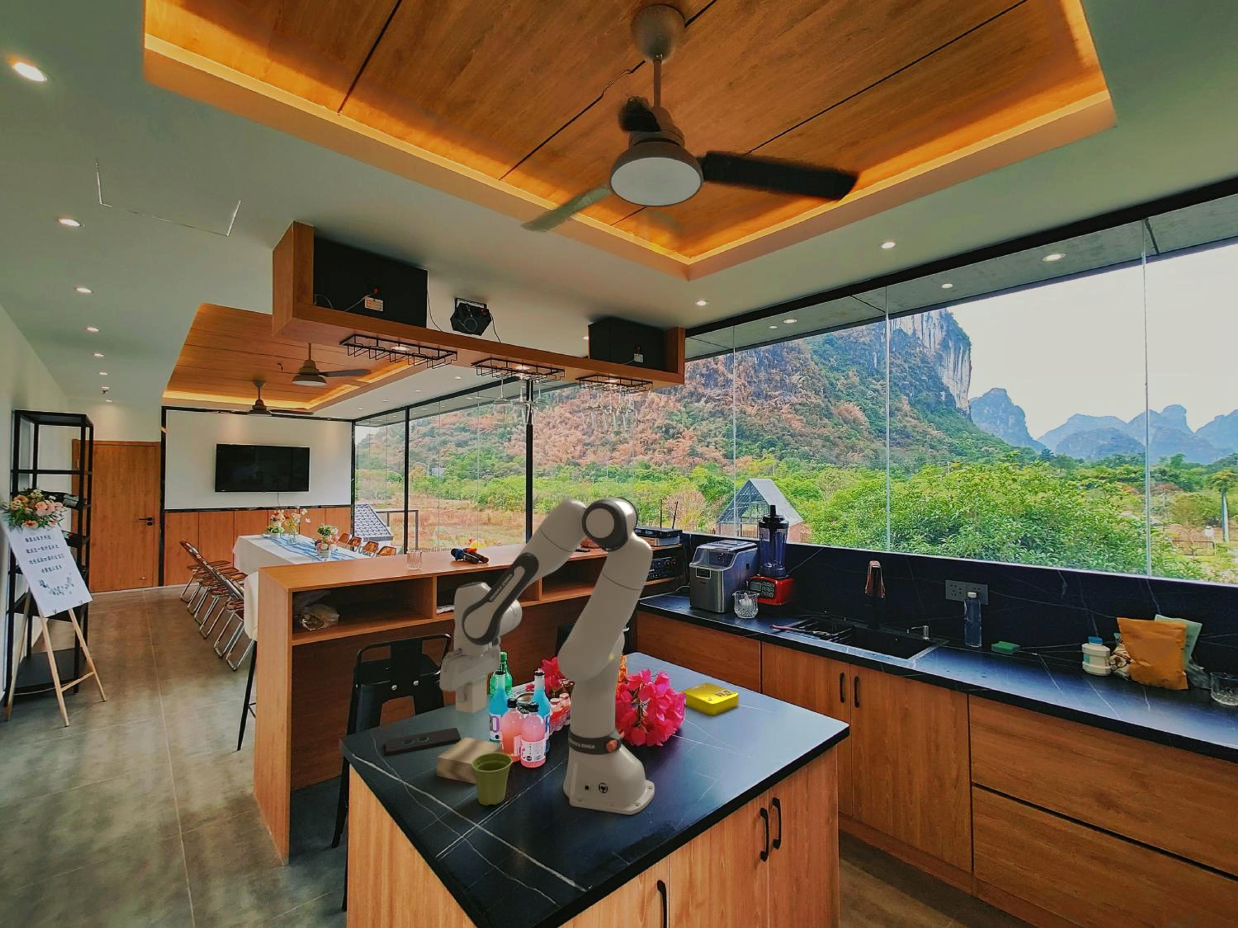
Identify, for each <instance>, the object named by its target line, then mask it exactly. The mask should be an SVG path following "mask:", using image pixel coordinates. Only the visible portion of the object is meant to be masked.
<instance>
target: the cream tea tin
mask: <svg viewBox="0 0 1238 928" xmlns="http://www.w3.org/2000/svg"><path fill="white" fill-rule="evenodd" d="M488 676H489V674H488V675H485V674H484V675H482V676H480V677H478V678H475V679H473V680H471V681H469V683H468V684H466V685H464V690H463V692H464V694H466V695H467V701H466V702H464V703H459V702H458V696H457V694H456V693H455V711H458V712H464V713H467V714H468V713H469V714H475V713H476V712H478V711H480V710H482V709H484V708H485V707H488V706H487V705H488V704H487V703H488V702H487V701H488V699H487V697H488V694H487V693H488V692H487V691H488V690H487V687H488V685H487V681H488V678H489V677H488Z"/></svg>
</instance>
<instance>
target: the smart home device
mask: <svg viewBox="0 0 1238 928" xmlns="http://www.w3.org/2000/svg"><path fill="white" fill-rule="evenodd" d="M461 740H462V737H461V734H460V732H459V729H458V728H457V727H452V728H451V727H450V728H446V729H440V730H439V729H438V730H434V731H429V732H423V733H417V734H411V735H406V736H405V735H404V736H401V737H395V738H389V739H386V740H384V743H385V744H384V745H385V754H386V757H387V756H395V755H399V754H405V753H409V752H414V751H415V752H416V751H422V750H427V749H433V748H436V747H441V746H442V747H443V746H447V745H454V744H456V743H458V742H459V741H461Z"/></svg>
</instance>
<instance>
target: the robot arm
mask: <svg viewBox="0 0 1238 928" xmlns="http://www.w3.org/2000/svg"><path fill="white" fill-rule="evenodd" d="M638 522H639V513H638V510H637V507H636V506H635V505H634V504H633V502H631V501H630V500H628V499H627V498H624V497H617V496H616V497H614V496H611V497H610V496H609V497H604V498H600V499H598V500H595V501H594V502H593V501H592V502H591V503H590V504H589V505H588V504H586V503H585V502H583V501H582V500H579V499H577V498H572V497H571V498H569V497H568V498H566V499H563V500H562V501H561V502H559V504H557V506H555V507H554V508H553V509H552V510H551V511H550V513H549V514H548V515H547V516H546V517H545V518H544V520H543V521H542V522H541V523H540V525H539V526H538V527H537V528H536V530H535V532H534V533H533V534H532V535H531V537H530V539H529V540H528V542H527V544H526V545H525V546H524V547H523V549H521V551H520V552H519V554H518V555H517V556H516V558H515V559H514V561H513V562H512V563H511V564H510V565H509V566H508V567H507V569H506V570H505V571H504V572H503V573H502V574H501V576H500V577H499V579H498V580H497V581H496V582H495V583H494V584H493V585H492V587H490V586H489V585H488V584H487V582H484V581H474V582H470V583H466V584H463V585H460V586H459V587H458V588H456V591H455V596H454V602H453V619H454V624H455V628H454V631H453V651H450V652H447V653H446V655H445V656H444V658H443V659H442V661H441V662H442V663H441V668H440V675H439V688H440V690H441V691H444V692H451V693H452V692H455V695H456V694H457V696H458V702H459V703H464V702H466V701H467V695H466V694H464V692H463V690H464V685H466V684H468V683H469V681H471V680H473V679H475V678H478V677H480V676H482V675H484V674H485V675H488V676H489V674H491V673H494V672H495V671H498V670H499V669H500V666H501V647H500V644H501V637H502V636H503V635H506V634H507V633H509V632H511V631H513V630H514V629H515V628H517V627H518V626H520V624H521V622H522V619H523V608H522V605H521V603H520V601H519V600H518V598H519V597H520V595H521V594H522V593H523V592H524V591H525V589H527V588H528V587H529V586H530V585H531V584H533V583H534V582H537V581H538V580H540V579H542V578H543V577H546V576H547V575H549V574H552V573H554V572H555V571H557V570H559V568H561V567H562V566H563V565H564V564H565V563H566V562H567V561H568V560H569V559H570V558H571V557H572V556H573V554H574V553H575V551H576V550H577V548H578V547H579V546H580V545H581V543H582V542H583V541H584V540H585V539H586V538H588V539H589V540H590V541H591V542H593V543H594V544H596V545H597V546H598V547H599V548H600V549H601V550H602V551H603V552H605V553H607V556H606V560H605V562H604V564H603V567H602V570H601V571H600V574H599V576H598V579H597V581H596V584H595V586H594V588H593V591H592V593H591V595H590V598H589V600H588V602H587V603H586V605H585V607H584V608H583V611H582V612H581V613H580V615H579V617H578V618H577V620H576V621H575V623H574V625H573V627H572V629H571V631H570V633H569V635H568V636H567V639H566V640H565V641H564V643H563V644H562V646H561V648H559V649H560V650H559V652H558V654H557V665H558V668H559V671H560V673H561V674H562V676H563V677H565V678H566V679H567V680H569V681H571V682H575V683H574V686H573V689H572V692H571V694H570V714H569V715H570V716H569V717H570V718H569V719H570V722H569V723H570V726H569V727H568V735H567V736H568V739H567V741H568V742H567V743H568V744H567V745H568V749H569V753H568V763H567V768H566V774H565V778H564V782H563V786H562V790H563V792H564V794H565V795H566V797H568V799H569V805H571V806H572V807H577V808H582V809H583V808H584V809H590V810H596V811H603V812H610V813H616V814H621V815H630V816H631V815H635V814H637V813H639V812H641V811H642V810H644V809H645V808H646V807H647V806H648V805H649V804H650V803H651V801H652V800H653V798H654V796H655V793H656V788H655V784H654V783H653V781H650V780H649V779H646V773H645V769H644V765H643V763H642V762H641V760H639V759H638V758H637V757H636V756H635V755H634V754H633V753H632V752H631V751H629V750H628V749H627V748H626V747H625V745H624V744H622V740H623V738H624V737H625V731H622V732H621V733H619V731H618V729H617V727H616V725H615V724H616V693H617V685H618V681H619V680H618V679H619V674H620V669H621V661H622V660H621V658H622V654H623V653H622V652H623V649H624V646H625V634H624V631H623V630H624V629H625V627H626V625H627V623H628V622H629V620H630V619H631V617H632V615H633V613H634V610H635V609H636V605H637V603H638V601H639V599H640V597H641V594H642V592H643V590H644V587H645V584H646V582H647V579H648V576H649V572H650V570H651V565H652V561H653V556H654V555H653V553H654V551H653V548H652V547H651V545H650V544H649V542H647V541H646V540H645V539H643V538H642V537H639V536H638V535H637V534H636V532H635V530H636V527H637V526H638V524H639V523H638Z"/></svg>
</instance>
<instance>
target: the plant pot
mask: <svg viewBox="0 0 1238 928" xmlns="http://www.w3.org/2000/svg"><path fill="white" fill-rule="evenodd" d="M512 764H513V758H512V757H511V756H510V755H509V754H507V753H504V752H503V753H487V754H483V755H480V756H478V757H476V758H475V759H474V760H473V761H472V768H473V769H474V773H475V777H476V784H475V785H476V793H477V800H478V802H479V803H480V804H481V805H482V806H489V805H498V804H501V802H503V801H504V799H505V797H506V789H507V782H508V778H509V777H508V776H509V771H510V769H511V765H512Z"/></svg>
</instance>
